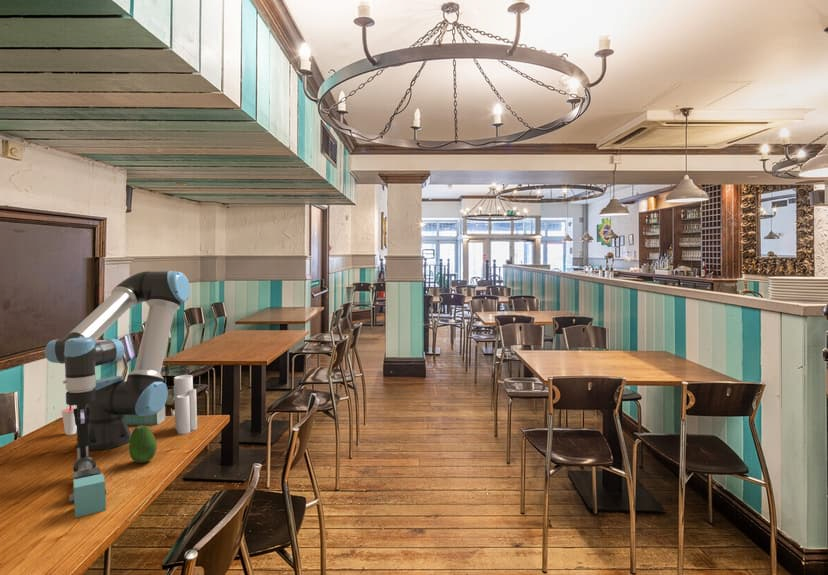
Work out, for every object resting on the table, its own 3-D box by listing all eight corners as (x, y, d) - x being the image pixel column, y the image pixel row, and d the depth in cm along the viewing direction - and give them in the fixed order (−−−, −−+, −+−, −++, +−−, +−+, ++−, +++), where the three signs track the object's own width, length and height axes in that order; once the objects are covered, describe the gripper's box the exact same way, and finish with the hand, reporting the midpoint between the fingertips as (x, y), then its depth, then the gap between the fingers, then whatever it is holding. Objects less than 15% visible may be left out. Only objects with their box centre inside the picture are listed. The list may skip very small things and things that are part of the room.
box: (132, 420, 208) (131, 402, 208) (165, 419, 209) (165, 401, 208) (122, 425, 201) (122, 407, 200) (157, 425, 201) (157, 406, 201)
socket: (74, 508, 132) (73, 479, 132) (103, 501, 136) (102, 473, 136) (75, 517, 127) (74, 487, 127) (105, 510, 131) (104, 481, 131)
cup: (82, 432, 193) (81, 400, 193) (69, 436, 188) (67, 404, 187) (72, 430, 195) (71, 399, 194) (58, 435, 190) (57, 403, 189)
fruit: (158, 463, 162) (157, 426, 161) (130, 469, 157) (128, 431, 157) (156, 455, 168) (155, 420, 168) (128, 460, 164) (127, 424, 164)
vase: (173, 427, 198) (172, 376, 197) (193, 423, 202) (192, 374, 201) (178, 435, 189) (177, 382, 188) (199, 431, 193) (197, 379, 192)
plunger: (73, 477, 149) (72, 458, 149) (95, 472, 152) (95, 454, 152) (75, 498, 136) (75, 477, 135) (100, 492, 139) (99, 472, 139)
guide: (69, 496, 139) (68, 473, 139) (104, 488, 144) (104, 465, 143) (69, 503, 135) (68, 478, 135) (106, 494, 140) (105, 471, 140)
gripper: (65, 387, 155) (67, 463, 156) (66, 396, 144) (68, 477, 145) (94, 383, 159) (96, 457, 160) (97, 392, 149) (99, 471, 150)
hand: (83, 467), depth 153 cm, fingers closed
